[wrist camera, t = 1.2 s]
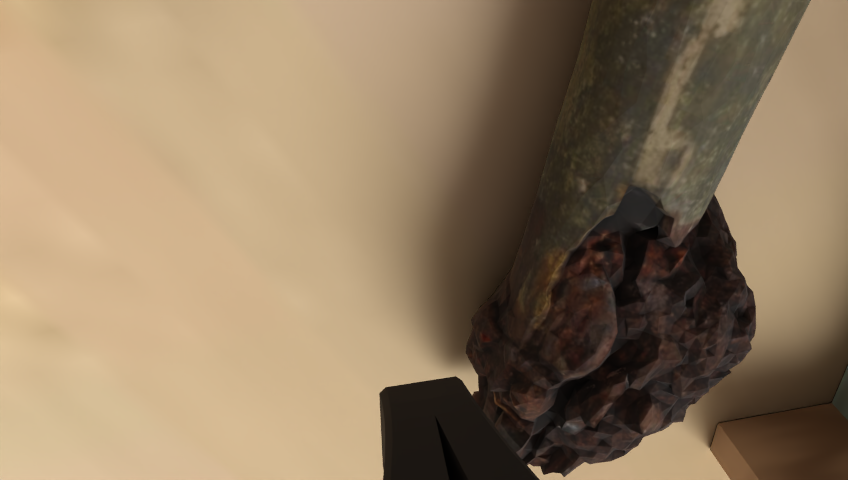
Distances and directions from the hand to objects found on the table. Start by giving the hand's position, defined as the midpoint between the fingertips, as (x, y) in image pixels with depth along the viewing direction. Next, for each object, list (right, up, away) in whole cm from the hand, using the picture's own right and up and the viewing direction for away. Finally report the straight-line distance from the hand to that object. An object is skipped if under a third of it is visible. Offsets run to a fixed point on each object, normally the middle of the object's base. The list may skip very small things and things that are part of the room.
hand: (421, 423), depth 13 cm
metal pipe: (+5, +6, +8) cm, 11 cm away
